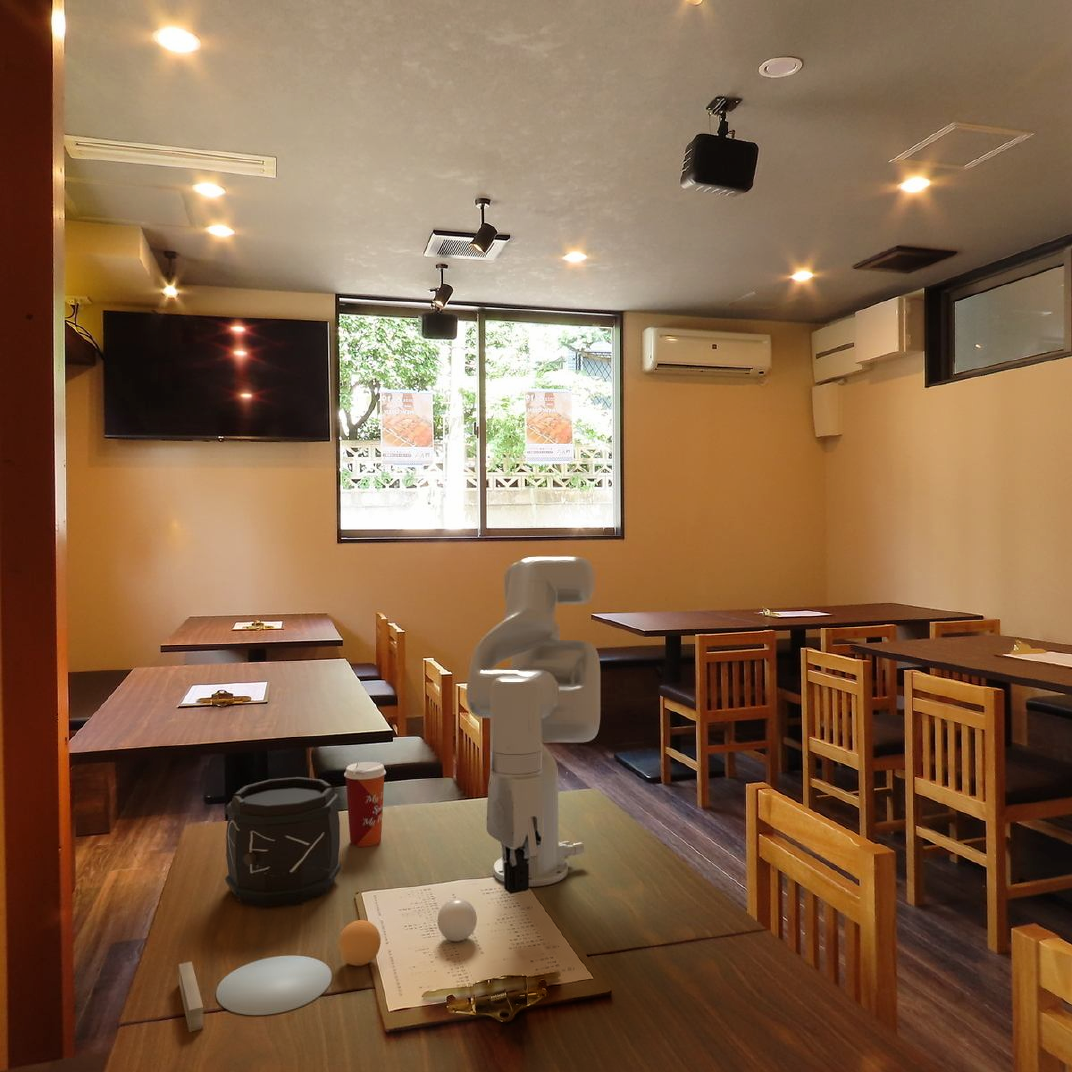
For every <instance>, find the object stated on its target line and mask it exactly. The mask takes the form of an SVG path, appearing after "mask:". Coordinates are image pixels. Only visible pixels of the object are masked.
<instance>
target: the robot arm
mask: <svg viewBox="0 0 1072 1072" xmlns="http://www.w3.org/2000/svg"><path fill="white" fill-rule="evenodd" d="M592 565H593V564H591V562H590V561H589V560H588V559H586V558H584V557H579V556H531V557H527V558H526V557H524V558H522V559H520V560H518V561H517V562H514V563H512V564H510V565H509V566H508V567H507V569H506V570H505V573H504V576H503V577H504V578H503V590H504V591H503V592H504V599H505V611H504V620H502V621H501V622H499V623H497V624H496V625H495V626H493V627H492V628H491V629H490V630H489V631H488V632H487V633H486V634H485V635H484V636H483V637H482V638H481V639H480V641H478V643H477V644H476V646H475V648H474V650H473V652H472V655H471V659H470V664H469V670H468V675H467V681H466V695H465V698H466V704H467V707H468V710H469V711H470V712H471V714H472V715H474V716H476V717H478V718H481V719H482V718H483V719H490V721H489V727H490V728H489V731H490V732H489V734H490V735H489V736H490V737H489V738H490V740H489V741H490V742H489V744H490V746H489V749H490V750H489V752H490V754H489V755H490V757H489V759H490V764H489V765H490V766H489V767H490V770H489V771H490V772H489V773H490V774H489V779H488V780H489V781H488V787H487V799H486V800H487V801H486V832H487V834H488V835H489V836H490V837H492V838H493V839H494V840H496V841H498V842H500V845H501V852H502V854H501V856H502V857H500V858H499V859H497V860H496V861H495V862H494V863H493V865H492V866H493V867H492V870H493V871H492V872H493V875H494V877H495V878H496V879H497V880H498V881H500V882H502V883H503V888H504V889H503V890H504V891H506V892H508V894H516V893H521V892H522V893H523V892H527V891H529V888H530V887H543V886H547V885H552V884H555V883H557V882H561V880H563V879H565V878H566V877H567V875H568V873H569V865H568V863H567V861H566V860H567V859H569V857H571V856H578V855H583V854H584V853H585V845H584V843H583V842H581V841H580V842H575V843H571V842H570V841H569V840H563V841H560V839H559V838H560V837H559V833H560V831H559V770H558V765H557V762H556V759H555V758H554V756H553V755H552V754H551V752H550V751H549V750H548V748H547V747H546V746H545V745H544V744H545V743H548V744H549V743H587V742H591V741H593V739H595V737H597V734H598V732H599V729H600V724H601V663H600V656H599V652H598V650H597V649H596V647H595V645H594V644H592V643H591V642H589V641H586V640H579V639H577V640H576V639H570V640H569V639H561V629H560V626H559V624H558V622H557V621H556V620H555V617H556V615H555V613H556V605H587V604H588V603H590V601H591V600H592V598H593V596H594V592H595V588H596V587H595V585H596V577H595V571H594V566H592ZM509 658H511V659H510V668H494V667H495V666H496V665H498V664H499V663H501V662H503V661H504V660H506V659H509Z"/></svg>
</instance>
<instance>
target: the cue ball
mask: <svg viewBox="0 0 1072 1072" xmlns="http://www.w3.org/2000/svg"><path fill="white" fill-rule="evenodd" d="M474 907H475V906H473V905H472V904H471V903H470V902H469V901H468V900H466V899H464V898H453V899H449V900H448V901H446V902H445V903H444V904H443V905H442V906H441V908H440V910H439V911H438V913H437V914H438V915H437V926H438V929H439V932H440V933H441V935H442V936H443V937H444V938H445V939H447V940H449V941H451V942H462V941H464V939H465V940H467V939H468V938H469V937H470V936H471V935H472V934H473V933H474V931H475V928H476V927H477V923H478V922H477V921H478V917H477V912H476V909H475V908H474ZM461 940H462V941H461Z"/></svg>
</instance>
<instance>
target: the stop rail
mask: <svg viewBox="0 0 1072 1072" xmlns="http://www.w3.org/2000/svg"><path fill="white" fill-rule="evenodd" d="M195 973H196V972H195V971H194V965H193V962H192V961H188V962H183V963H179V964H178V986H179V991H180V995H181V1000H182V1004H183V1009H184V1013H185V1017H186V1022H187V1023H186V1024H187V1029H188V1032H189V1033H191V1032H195V1031H199V1030H202V1029H203V1030H204V1005H203V1001H202V997H201V994H200V988H199V986H198V985H199V984H198V981H197V978H196V974H195Z"/></svg>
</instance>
